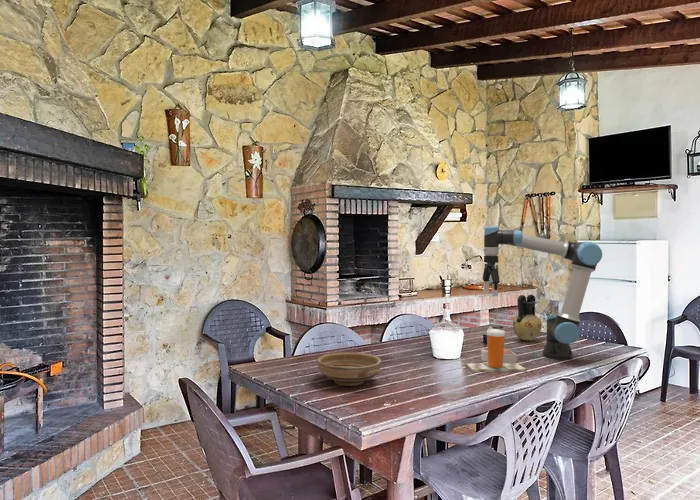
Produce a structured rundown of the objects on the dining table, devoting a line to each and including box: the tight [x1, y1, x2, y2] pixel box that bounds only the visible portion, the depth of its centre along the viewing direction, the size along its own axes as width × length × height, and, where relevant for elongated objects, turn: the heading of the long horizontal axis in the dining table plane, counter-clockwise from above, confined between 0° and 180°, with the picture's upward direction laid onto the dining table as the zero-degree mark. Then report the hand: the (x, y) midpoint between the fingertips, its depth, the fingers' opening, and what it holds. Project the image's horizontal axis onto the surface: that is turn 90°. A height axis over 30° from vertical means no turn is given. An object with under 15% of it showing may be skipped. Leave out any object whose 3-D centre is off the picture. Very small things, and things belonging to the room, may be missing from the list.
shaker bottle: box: [486, 324, 506, 368], centre depth 248 cm, size 9×9×20 cm
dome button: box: [504, 347, 512, 354], centre depth 265 cm, size 6×6×6 cm
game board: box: [464, 362, 528, 373], centre depth 249 cm, size 27×12×1 cm, turn 93°
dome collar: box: [503, 350, 518, 364], centre depth 265 cm, size 9×9×4 cm
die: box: [480, 349, 488, 362], centre depth 267 cm, size 5×5×5 cm
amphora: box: [512, 294, 542, 344], centre depth 315 cm, size 18×17×30 cm
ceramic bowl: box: [316, 352, 382, 387], centre depth 223 cm, size 37×29×10 cm
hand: (490, 294), depth 268 cm, fingers open, 13 cm apart
